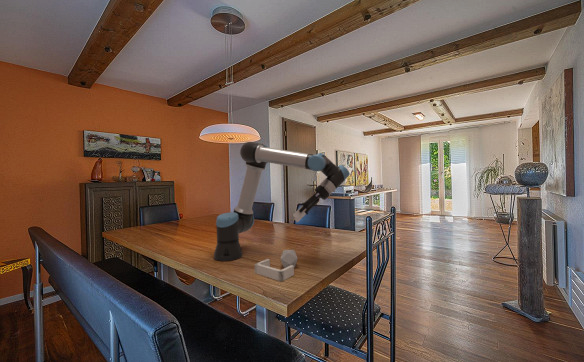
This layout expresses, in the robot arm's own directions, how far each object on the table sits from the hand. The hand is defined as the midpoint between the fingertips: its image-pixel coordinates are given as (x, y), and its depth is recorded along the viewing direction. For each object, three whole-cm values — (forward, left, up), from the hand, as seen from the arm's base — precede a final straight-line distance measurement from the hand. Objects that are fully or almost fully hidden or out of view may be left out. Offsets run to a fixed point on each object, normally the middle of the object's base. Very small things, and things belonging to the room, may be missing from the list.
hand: (295, 219), depth 122 cm
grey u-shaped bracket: (0, -16, -22) cm, 27 cm away
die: (0, -6, -22) cm, 23 cm away
